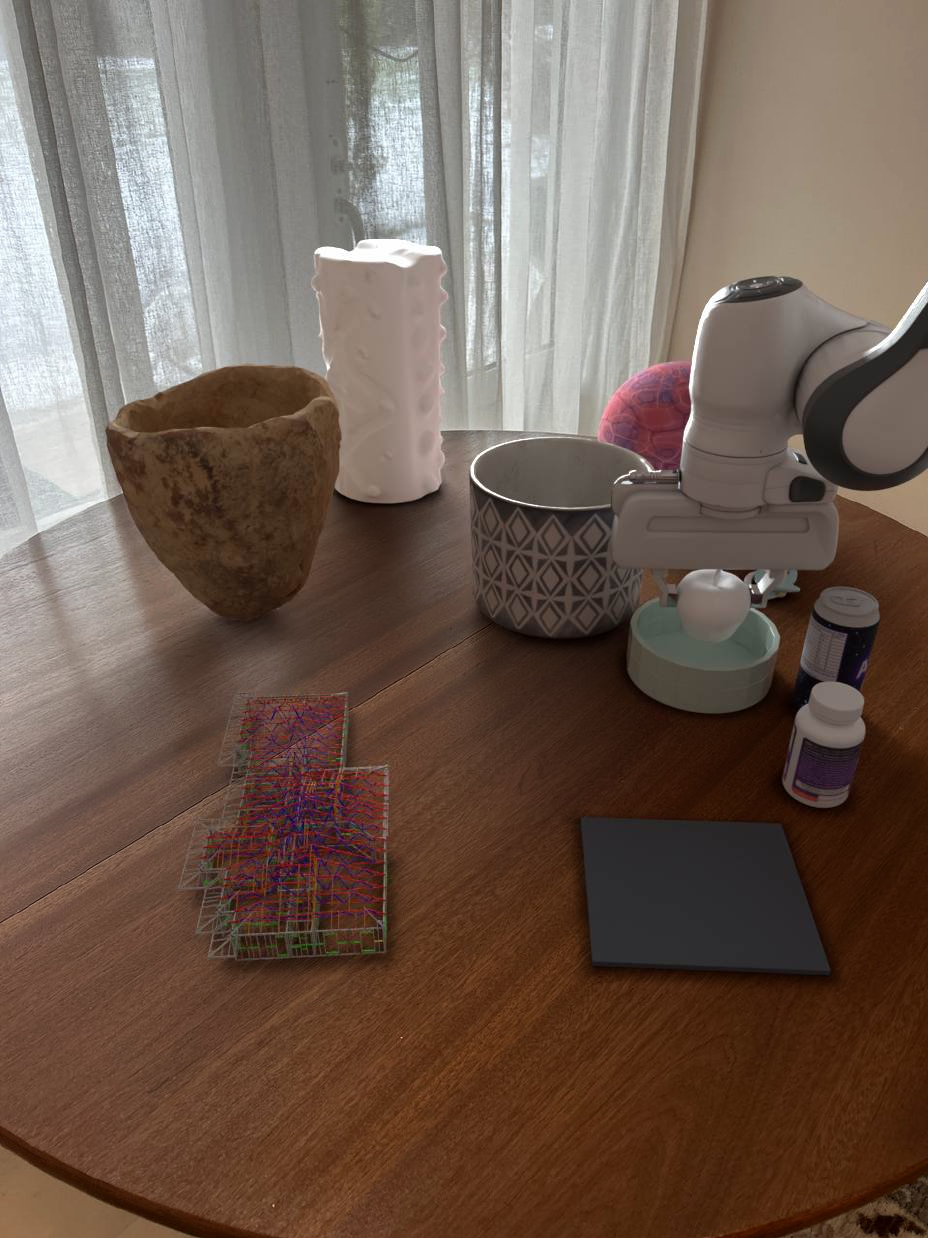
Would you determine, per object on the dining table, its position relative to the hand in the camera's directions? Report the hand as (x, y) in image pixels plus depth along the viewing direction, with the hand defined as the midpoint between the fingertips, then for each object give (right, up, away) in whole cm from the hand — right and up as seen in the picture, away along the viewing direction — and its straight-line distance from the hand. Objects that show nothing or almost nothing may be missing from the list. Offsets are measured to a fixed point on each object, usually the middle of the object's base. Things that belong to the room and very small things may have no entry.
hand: (712, 604), depth 89 cm
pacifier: (+11, +2, +18) cm, 22 cm away
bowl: (-48, 0, +15) cm, 50 cm away
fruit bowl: (0, -7, +4) cm, 8 cm away
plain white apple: (0, -3, +2) cm, 3 cm away
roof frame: (-38, -18, -14) cm, 44 cm away
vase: (-35, +18, +45) cm, 60 cm away
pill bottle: (+6, -16, -11) cm, 20 cm away
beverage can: (+10, -10, -1) cm, 14 cm away
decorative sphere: (+4, +13, +36) cm, 39 cm away
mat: (-7, -22, -20) cm, 31 cm away
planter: (-14, 0, +15) cm, 20 cm away
